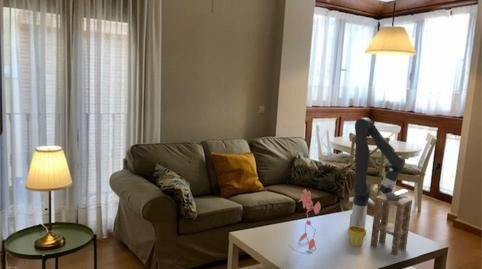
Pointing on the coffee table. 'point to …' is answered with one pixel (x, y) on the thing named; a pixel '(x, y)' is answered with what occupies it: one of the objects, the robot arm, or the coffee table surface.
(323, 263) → the coffee table surface
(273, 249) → the coffee table surface
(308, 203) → the figurine
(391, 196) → the brushed grey block
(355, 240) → the plant pot
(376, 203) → the walnut stand
